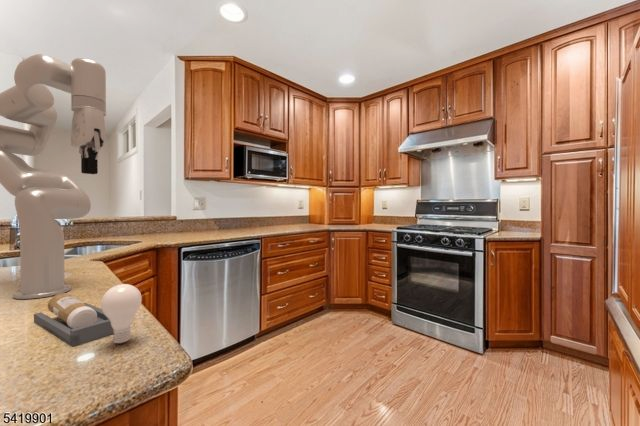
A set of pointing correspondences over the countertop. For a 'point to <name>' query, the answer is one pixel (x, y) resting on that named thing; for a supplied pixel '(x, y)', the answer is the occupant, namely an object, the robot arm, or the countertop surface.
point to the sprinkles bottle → (72, 310)
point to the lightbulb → (121, 309)
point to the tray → (78, 334)
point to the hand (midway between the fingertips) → (89, 173)
